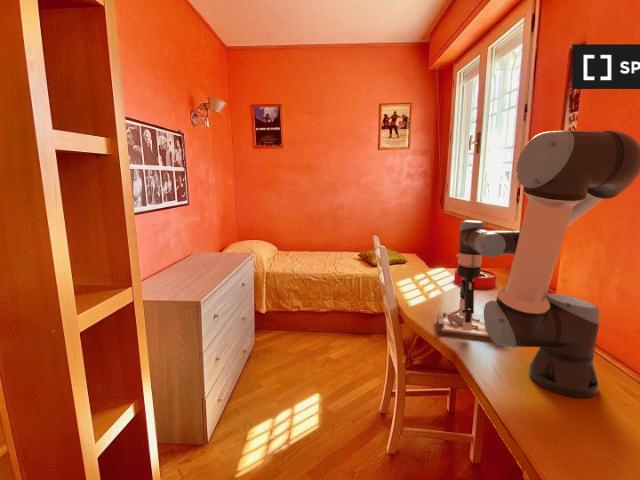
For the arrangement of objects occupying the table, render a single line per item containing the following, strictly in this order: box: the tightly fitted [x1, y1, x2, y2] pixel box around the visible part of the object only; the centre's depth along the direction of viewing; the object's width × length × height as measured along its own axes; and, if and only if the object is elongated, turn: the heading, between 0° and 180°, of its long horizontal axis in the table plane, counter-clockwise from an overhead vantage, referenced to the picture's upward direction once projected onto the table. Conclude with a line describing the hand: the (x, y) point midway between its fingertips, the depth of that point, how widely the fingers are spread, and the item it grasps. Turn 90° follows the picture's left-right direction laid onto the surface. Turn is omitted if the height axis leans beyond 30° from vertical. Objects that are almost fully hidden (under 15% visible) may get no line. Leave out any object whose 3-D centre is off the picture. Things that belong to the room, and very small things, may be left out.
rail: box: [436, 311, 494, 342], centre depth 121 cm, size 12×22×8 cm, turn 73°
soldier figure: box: [442, 308, 481, 328], centre depth 123 cm, size 8×5×12 cm
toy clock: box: [454, 268, 497, 290], centre depth 180 cm, size 20×6×20 cm
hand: (464, 322), depth 122 cm, fingers open, 12 cm apart
